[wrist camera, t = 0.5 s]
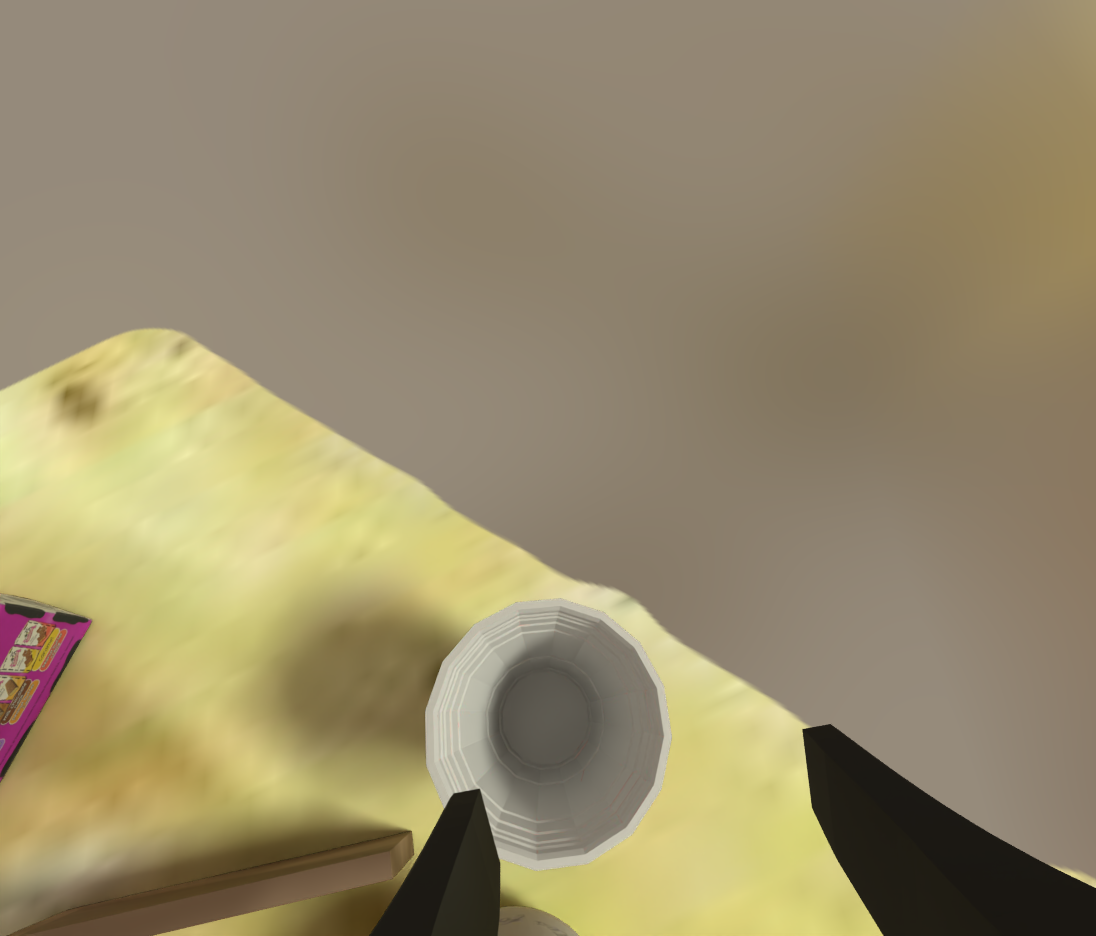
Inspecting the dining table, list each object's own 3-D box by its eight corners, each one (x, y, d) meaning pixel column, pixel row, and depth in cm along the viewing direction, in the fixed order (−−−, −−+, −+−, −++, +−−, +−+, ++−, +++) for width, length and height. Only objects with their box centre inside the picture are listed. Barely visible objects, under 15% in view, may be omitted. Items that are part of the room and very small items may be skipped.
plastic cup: (587, 858, 33) (607, 936, 22) (428, 758, 35) (372, 783, 24) (663, 680, 36) (714, 669, 25) (515, 599, 38) (503, 556, 27)
